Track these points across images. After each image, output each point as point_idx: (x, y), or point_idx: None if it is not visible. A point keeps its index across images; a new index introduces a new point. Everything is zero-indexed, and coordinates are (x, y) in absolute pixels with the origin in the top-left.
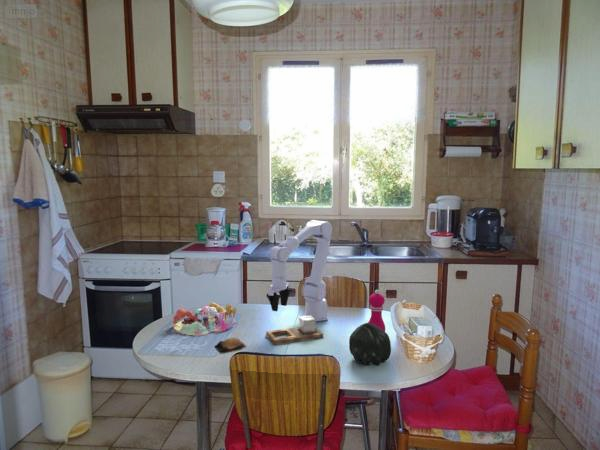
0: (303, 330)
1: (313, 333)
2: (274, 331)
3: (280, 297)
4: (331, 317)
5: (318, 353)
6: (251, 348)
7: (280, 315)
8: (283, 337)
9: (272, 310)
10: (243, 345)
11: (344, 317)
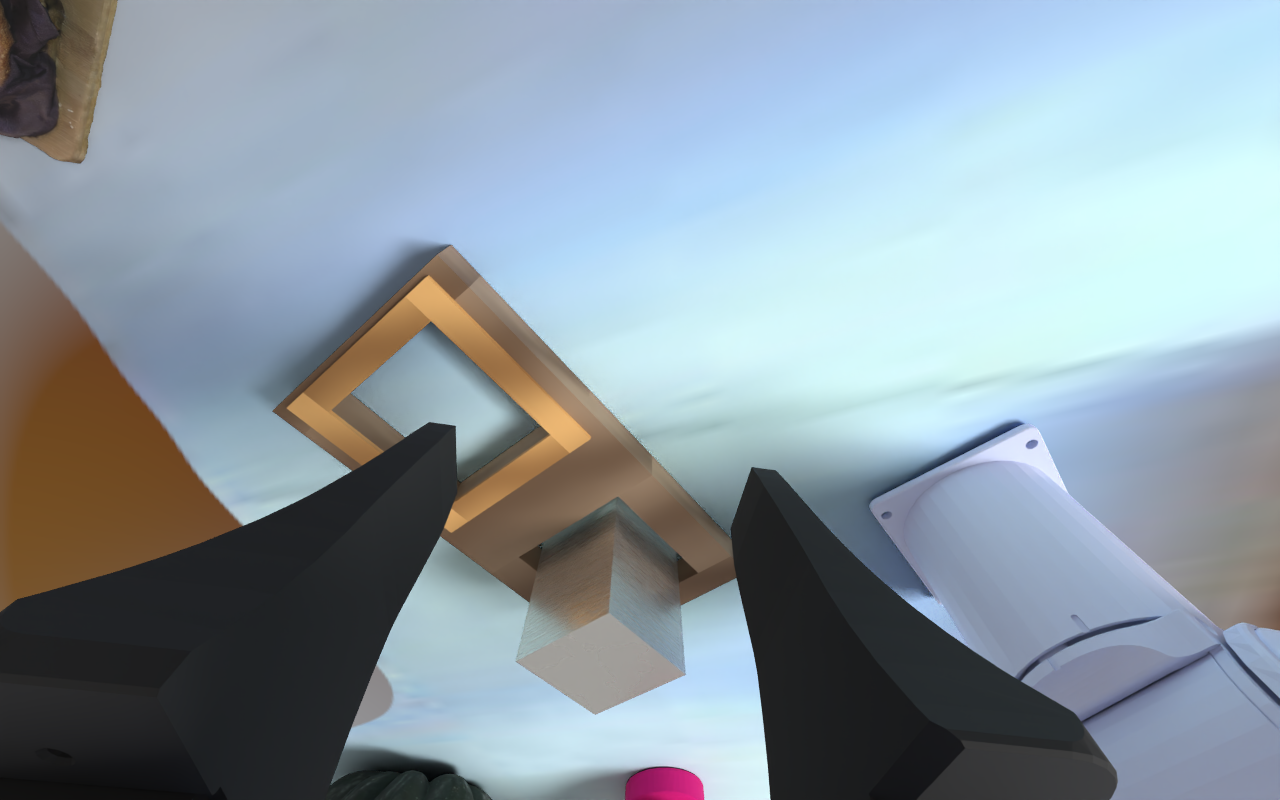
0: (539, 577)
1: None
2: (469, 344)
3: (805, 557)
4: None
5: None
6: (87, 230)
7: (1115, 175)
8: None
9: (422, 429)
10: (9, 134)
11: None
